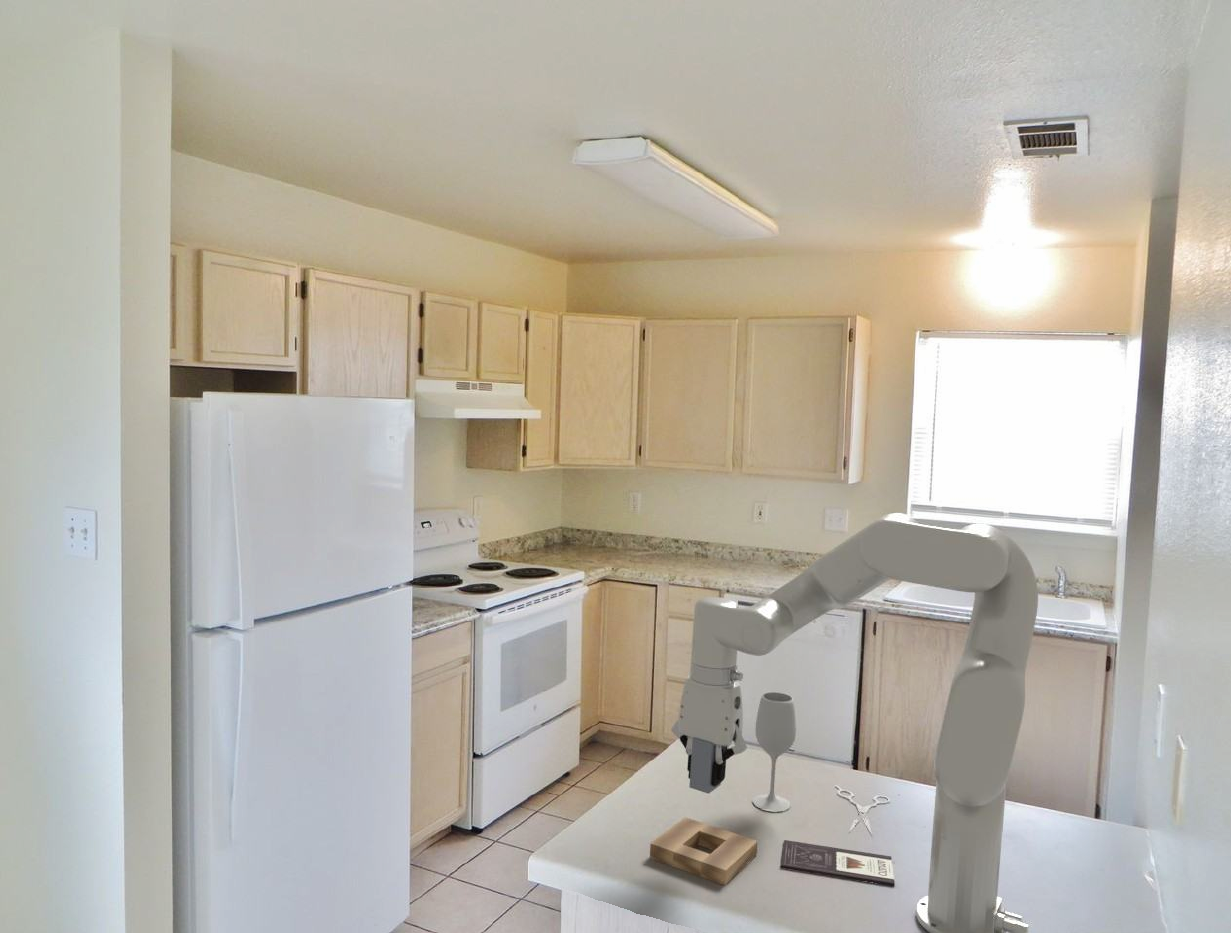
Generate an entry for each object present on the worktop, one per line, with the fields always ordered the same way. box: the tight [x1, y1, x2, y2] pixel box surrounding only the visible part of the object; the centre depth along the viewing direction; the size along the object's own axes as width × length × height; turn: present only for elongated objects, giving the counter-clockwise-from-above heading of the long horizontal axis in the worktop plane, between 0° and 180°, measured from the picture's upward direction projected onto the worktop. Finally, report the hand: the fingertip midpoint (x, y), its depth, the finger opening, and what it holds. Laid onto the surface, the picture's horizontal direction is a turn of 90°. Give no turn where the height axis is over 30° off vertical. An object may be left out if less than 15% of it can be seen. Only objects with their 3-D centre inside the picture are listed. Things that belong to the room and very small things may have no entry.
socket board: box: [649, 816, 759, 886], centre depth 150 cm, size 14×12×2 cm
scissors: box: [834, 784, 891, 836], centre depth 170 cm, size 11×1×20 cm
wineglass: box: [752, 691, 797, 811], centre depth 170 cm, size 8×8×21 cm
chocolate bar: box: [780, 839, 896, 888], centre depth 150 cm, size 9×1×18 cm
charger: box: [689, 738, 722, 795], centre depth 149 cm, size 4×4×9 cm
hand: (705, 778), depth 149 cm, fingers closed on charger, 3 cm apart
